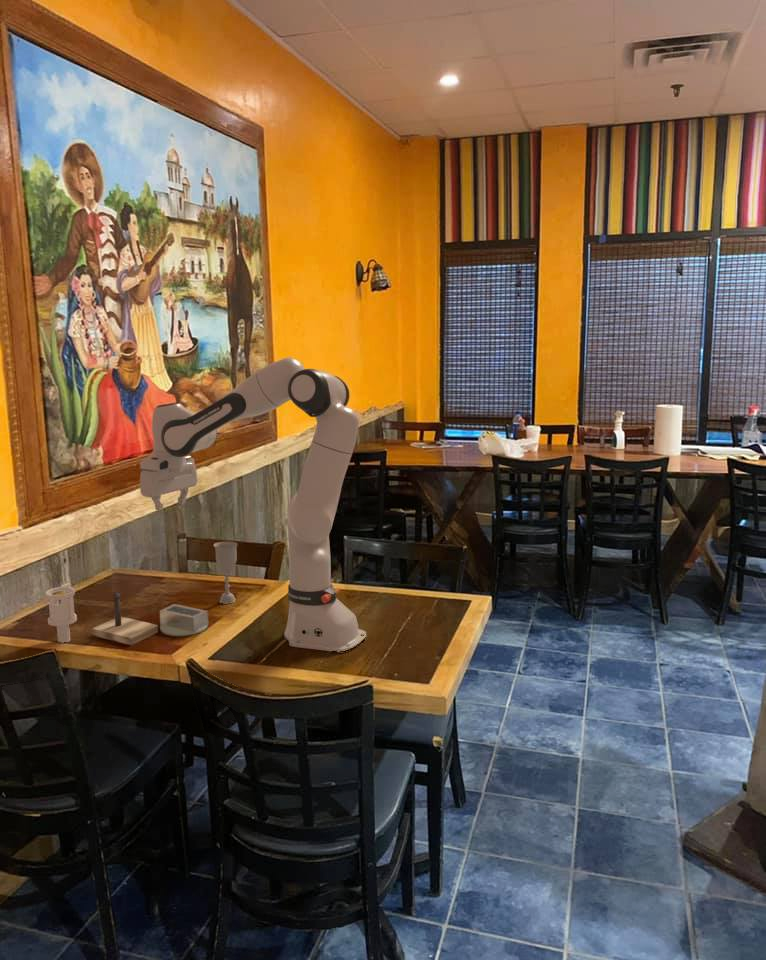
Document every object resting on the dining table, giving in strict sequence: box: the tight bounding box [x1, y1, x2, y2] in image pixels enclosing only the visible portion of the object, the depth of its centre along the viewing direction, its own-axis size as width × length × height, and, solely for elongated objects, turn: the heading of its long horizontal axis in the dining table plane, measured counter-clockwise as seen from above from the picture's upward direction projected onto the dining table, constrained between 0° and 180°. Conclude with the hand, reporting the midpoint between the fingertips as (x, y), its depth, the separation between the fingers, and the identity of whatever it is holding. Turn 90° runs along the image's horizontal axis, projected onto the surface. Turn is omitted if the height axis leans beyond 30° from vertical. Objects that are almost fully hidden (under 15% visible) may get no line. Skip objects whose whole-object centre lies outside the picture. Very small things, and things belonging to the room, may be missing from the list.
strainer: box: [45, 582, 78, 644], centre depth 201 cm, size 7×7×15 cm
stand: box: [91, 592, 159, 646], centre depth 206 cm, size 14×10×11 cm
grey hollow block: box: [159, 603, 209, 632], centre depth 211 cm, size 12×6×4 cm, turn 64°
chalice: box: [213, 541, 239, 605], centre depth 230 cm, size 7×7×18 cm
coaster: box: [159, 624, 209, 637], centre depth 212 cm, size 13×13×1 cm
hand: (170, 506), depth 219 cm, fingers open, 8 cm apart
